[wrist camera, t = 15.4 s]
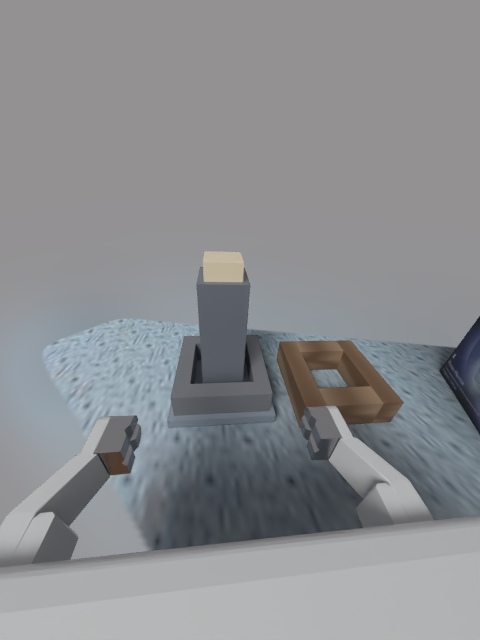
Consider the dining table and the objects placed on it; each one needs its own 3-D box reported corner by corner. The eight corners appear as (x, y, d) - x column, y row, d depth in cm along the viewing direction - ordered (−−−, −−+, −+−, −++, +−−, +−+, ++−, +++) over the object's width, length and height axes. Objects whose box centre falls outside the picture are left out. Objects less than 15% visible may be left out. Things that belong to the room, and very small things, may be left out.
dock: (257, 353, 29) (260, 330, 27) (274, 421, 21) (280, 395, 19) (183, 355, 28) (180, 331, 26) (168, 427, 20) (162, 400, 18)
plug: (238, 364, 26) (245, 251, 19) (241, 391, 23) (251, 265, 15) (205, 365, 26) (199, 249, 18) (203, 392, 22) (195, 264, 15)
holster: (343, 358, 29) (350, 340, 28) (390, 421, 22) (403, 402, 20) (276, 359, 28) (279, 341, 27) (299, 427, 21) (306, 407, 19)
